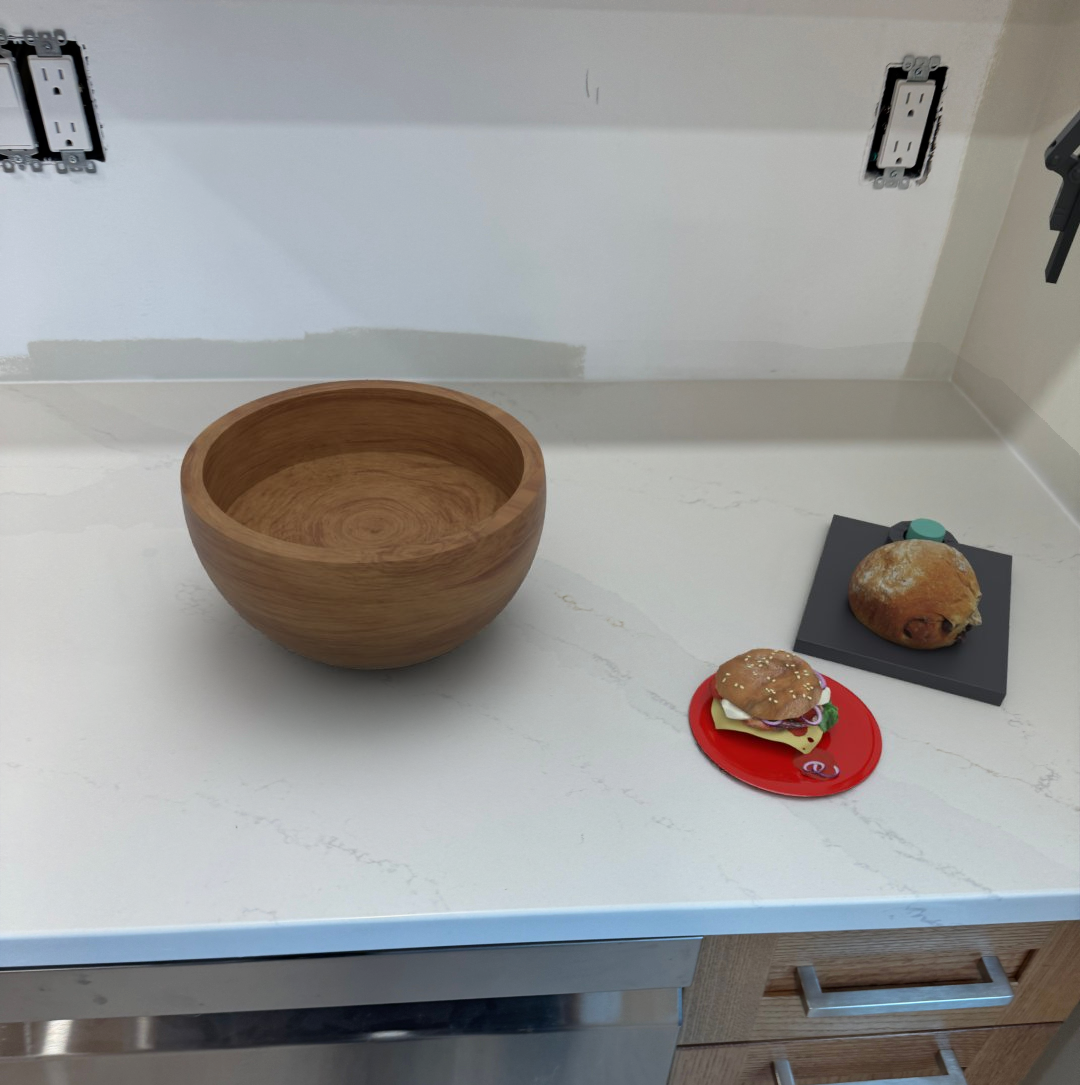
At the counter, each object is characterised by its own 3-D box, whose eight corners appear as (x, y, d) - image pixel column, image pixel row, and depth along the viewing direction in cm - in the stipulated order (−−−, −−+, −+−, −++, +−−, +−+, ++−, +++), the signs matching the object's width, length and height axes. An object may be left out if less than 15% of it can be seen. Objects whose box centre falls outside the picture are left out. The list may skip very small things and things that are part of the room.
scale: (1006, 568, 86) (1019, 540, 84) (999, 707, 73) (1015, 678, 71) (829, 526, 90) (838, 498, 88) (792, 651, 77) (800, 622, 74)
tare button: (941, 537, 85) (947, 522, 84) (938, 555, 83) (944, 540, 82) (906, 529, 85) (912, 514, 84) (903, 547, 83) (909, 532, 82)
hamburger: (667, 765, 67) (680, 703, 63) (711, 647, 76) (725, 586, 72) (869, 824, 64) (896, 763, 60) (889, 693, 73) (914, 633, 69)
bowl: (476, 779, 65) (476, 602, 55) (153, 694, 70) (96, 515, 59) (574, 576, 83) (588, 412, 72) (310, 518, 87) (287, 356, 76)
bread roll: (924, 615, 84) (928, 524, 82) (1011, 642, 75) (1019, 540, 72) (826, 634, 82) (827, 540, 79) (904, 664, 73) (908, 559, 70)
